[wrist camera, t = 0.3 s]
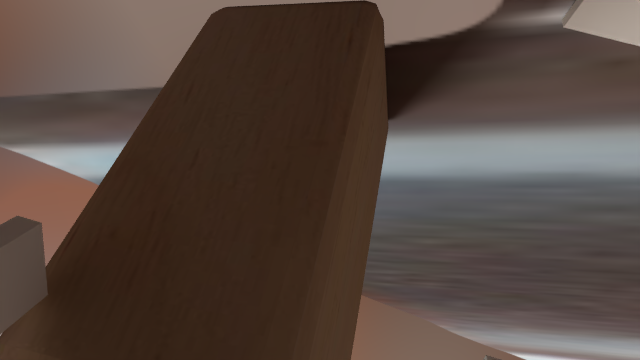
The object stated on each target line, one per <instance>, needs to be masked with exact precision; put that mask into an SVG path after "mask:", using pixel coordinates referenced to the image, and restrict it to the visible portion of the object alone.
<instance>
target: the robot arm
mask: <svg viewBox="0 0 640 360" xmlns="http://www.w3.org/2000/svg"><path fill="white" fill-rule="evenodd" d="M47 295H48V291H47V279H46V268H45V257H44V245H43V233H42V223H40V222H37V221H33V220H30V219H27V218H23V217H20V216H16V217H14V218H12V219H10V220H8V221H7V222H5V223H3V224H1V225H0V334H1V333H3V332H4V331H5V330H6V329H7V328H9V327H10V326H11V325H12V324H13V323H15V322H16V321H17V320H18V319H19V318H21V317H22V316H23V315H24V314H25V313H27V312H28V311H29V310H30V309H31V308H33V307H34V306H35V305H36V304H37V303H39V302H40V301H41V300H42V299H44V298H45V297H46V296H47ZM484 360H501V359H497V358H494V357H491V356H487V355H486V356H485V358H484Z"/></svg>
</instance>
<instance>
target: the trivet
mask: <svg viewBox="0 0 640 360" xmlns="http://www.w3.org/2000/svg"><path fill="white" fill-rule="evenodd" d="M562 23H563V27H565V28H569V29H573V30H577V31H581V32H585V33H589V34H593V35H597V36H601V37H605V38H609V39H613V40H617V41H621V42H625V43H629V44H633V45H637V46H640V0H576V1H575V3H574V4H573V5H572V7H571V8H570V10H569V11H568V12H567V14H566V15H565V16H564V18H563V19H562Z"/></svg>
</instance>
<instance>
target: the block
mask: <svg viewBox="0 0 640 360" xmlns="http://www.w3.org/2000/svg"><path fill="white" fill-rule="evenodd" d="M387 133H388V110H387V88H386V66H385V44H384V22H383V18H382V17H381V14H380V12H379V10H378V7H377V5H376V4H375V3H372V2H368V1H344V2H324V3H303V4H302V3H301V4H282V5H281V4H280V5H259V6H237V7H225V8H222V9H220V10H218V11H216V12H215V13H213V14H211V16H210V17H209V19H208V20H207V22H206V23H205V25H204V26H203V28H202V29H201V31H200V32H199V34H198V35H197V37H196V39H195V40H194V42H193V43H192V45H191V46H190V48H189V49H188V51H187V52H186V54H185V56H184V57H183V58H182V60H181V62H180V63H179V65H178V66H177V68H176V69H175V71H174V72H173V74H172V75H171V77H170V78H169V80H168V81H167V83H166V84H165V86H164V87H163V89H162V90H161V92H160V93H159V95H158V97H157V98H156V100H155V101H154V103H153V104H152V106H151V107H150V109H149V110H148V112H147V113H146V115H145V116H144V118H143V119H142V121H141V122H140V124H139V126H138V127H137V129H136V130H135V132H134V133H133V135H132V136H131V138H130V139H129V141H128V142H127V144H126V145H125V147H124V148H123V150H122V151H121V153H120V155H119V156H118V158H117V159H116V161H115V162H114V164H113V165H112V167H111V168H110V170H109V171H108V173H107V174H106V176H105V177H104V179H103V180H102V182H101V184H100V185H99V187H98V188H97V190H96V191H95V193H94V194H93V196H92V197H91V199H90V200H89V202H88V204H87V205H86V207H85V208H84V210H83V211H82V213H81V214H80V216H79V217H78V219H77V220H76V222H75V224H74V225H73V226H72V228H71V229H70V231H69V232H68V234H67V235H66V237H65V239H64V240H63V242H62V243H61V245H60V246H59V248H58V249H57V251H56V252H55V254H54V255H53V257H52V258H51V260H50V261H49V263H48V265H47V266H46V279H47V291H48V295H47V296H46V297H45V298H44V299H42V300H41V301H40V302H39V303H37V304H36V305H35V306H34V307H33V308H31V309H30V310H29V311H28V312H27V313H25V314H24V315H23V316H22V317H21V318H19V319H18V320H17V321H16V322H15V323H13V324H12V325H11V326H10V327H9V328H7V329H6V330H5V331H4V332H3V333H2V335H1V336H0V360H351V354H352V348H353V342H354V335H355V330H356V323H357V317H358V311H359V305H360V299H361V293H362V287H363V281H364V274H365V268H366V262H367V256H368V250H369V244H370V238H371V231H372V225H373V219H374V213H375V207H376V201H377V195H378V188H379V182H380V176H381V170H382V164H383V158H384V152H385V145H386V139H387Z"/></svg>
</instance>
